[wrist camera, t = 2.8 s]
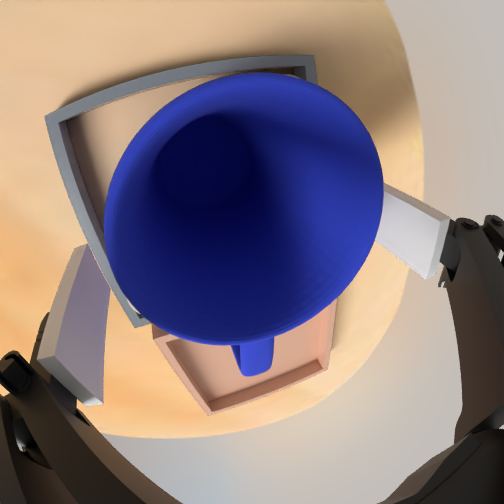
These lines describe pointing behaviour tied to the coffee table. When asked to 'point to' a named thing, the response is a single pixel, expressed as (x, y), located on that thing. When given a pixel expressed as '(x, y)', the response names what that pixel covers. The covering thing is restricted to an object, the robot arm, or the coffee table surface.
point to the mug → (243, 211)
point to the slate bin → (58, 118)
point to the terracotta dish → (227, 371)
